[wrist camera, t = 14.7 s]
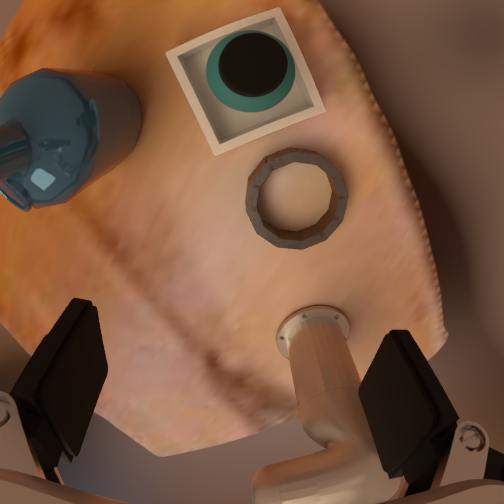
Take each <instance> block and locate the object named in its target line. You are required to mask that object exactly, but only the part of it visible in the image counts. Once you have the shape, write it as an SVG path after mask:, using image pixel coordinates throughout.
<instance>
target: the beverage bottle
mask: <svg viewBox="0 0 504 504" xmlns="http://www.w3.org/2000/svg"><path fill="white" fill-rule="evenodd" d="M206 77H207V82H208V85H209V87H210V89H211V91H212V93H213V94H214V95H215V97H216V98H217V99H218V100H219V101H220V102H222V103H223V104H224V105H226V106H228V107H229V108H232V109H234V110H237V111H241V112H250V113H252V112H261V111H265V110H268V109H270V108H272V107H274V106H276V105H277V104H279V103H280V102H281V101H282V100H283V99H284V98H285V97H286V96H287V95H288V93H289V92H290V90H291V88H292V86H293V83H294V80H295V63H294V60H293V57H292V55H291V53H290V51H289V50H288V48H287V47H286V46H285V45H284V44H283V43H282V42H281V41H280V40H279V39H277V38H276V37H274V36H273V35H270V34H268V33H265V32H262V31H257V30H244V31H239V32H236V33H233V34H230V35H228V36H227V37H225V38H223V39H222V40H221V41H220V42H219V43H218V44H217V45H216V46H215V47H214V48H213V50H212V51H211V53H210V55H209V57H208V60H207V64H206Z"/></svg>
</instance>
